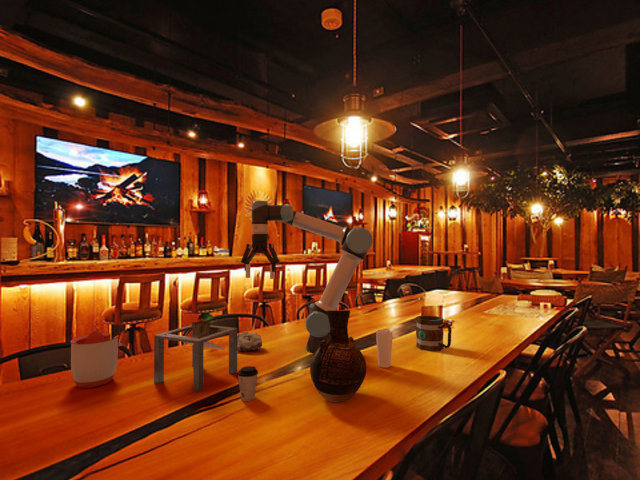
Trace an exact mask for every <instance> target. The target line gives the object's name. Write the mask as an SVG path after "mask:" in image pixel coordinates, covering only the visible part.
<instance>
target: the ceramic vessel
mask: <svg viewBox="0 0 640 480" xmlns="http://www.w3.org/2000/svg"><path fill="white" fill-rule="evenodd" d="M350 315H351V310H350V309H343V310H337V309H336V310H334V311H332V310H329V311H327V316H328V319H329V324H330V338H329V339H328V340H327V341H325V340H322V342H321V344H320V348H319V349H318V350H317V351H316V353H314V354H313V357H312V359H311V362H310V366H309V373H310V378H311V381H312V384H313V385H314V387H315V389H316V391H317V392H318V394H320V396H322V397H323V398H324V399H325V400H327V401H328V402H331V403H342V402H345V401H347V400H349V399H352V398H353V396H355V394H356V393H357V392H358V390H359V389H360V388H361V386H362V385H363V383H364V380H365V378H366V374H367V363H366V359H365V356H364V355H363V353H362V351H361V350H360V348H359V347H358V346H357V345H356V344H354V341H355V340H354V337H352V336H349V332H348V330H349V329H348V325H349V324H348V323H349V320H350Z"/></svg>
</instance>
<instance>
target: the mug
mask: <svg viewBox="0 0 640 480" xmlns="http://www.w3.org/2000/svg"><path fill="white" fill-rule="evenodd" d="M415 323H416V328H415V334H416V335H415V337H416V342H415V343H416V345H415V347H416V348H417V349H419V350H421V351H426V352H441V351H443V350H444V349H448V348H450V347H451V344H452V332H453V331H452V327H451V325H450V324H448V323H444V318H443V317H440V316H437V315H418V316H416V317H415ZM445 327H446V328H447V330H448V331H447V344H444V328H445Z"/></svg>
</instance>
